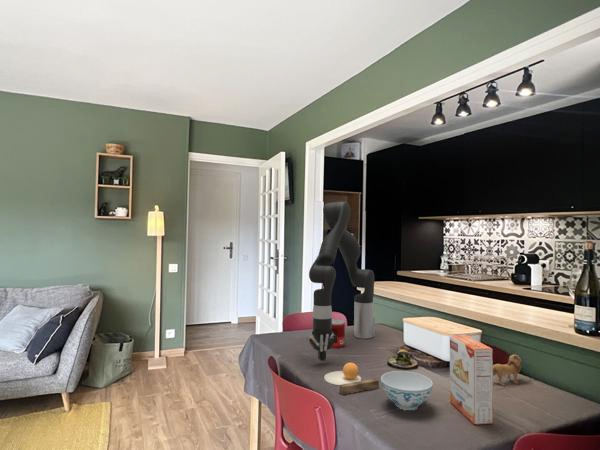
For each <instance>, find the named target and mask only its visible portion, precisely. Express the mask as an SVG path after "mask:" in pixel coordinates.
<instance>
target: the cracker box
mask: <svg viewBox="0 0 600 450" xmlns="http://www.w3.org/2000/svg"><path fill="white" fill-rule="evenodd" d="M493 354H494V351H493V348H492V347H490V346H487V345H486V344H484V343H482V342H481V341H478V340H476V339H475V338H473V337H471V336H470V335H467V334H452V335H449V402H450V403H451V404H452V405H453V406H454V407H455V408H456V409H457V410H458V412H461V414H462V415H463V416H464V417H466V418H467V420H469V421H470V423H472V424H473V425H474V424H476V425H493V424H494V384H493V383H494V376H493V365H494V364H493V363H494V360H493V359H494V358H493V357H494V355H493Z"/></svg>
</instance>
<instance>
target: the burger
mask: <svg viewBox="0 0 600 450" xmlns="http://www.w3.org/2000/svg"><path fill="white" fill-rule="evenodd" d="M396 353H397V354H396V355H395V354H393V355H391V357H388V358H387V362H386V364H387V365H392V366H393V367H396V368H397V367H398V368H404V369H406V368H408V369H409V368H413V367H416V368H419V361H418V360H417V359H416V358H415V359H414V358H413V357H411V356H409V351H408V350H406V349H404V348H401V349H399V350H398V351H397V352H396Z"/></svg>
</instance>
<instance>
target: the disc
mask: <svg viewBox="0 0 600 450" xmlns="http://www.w3.org/2000/svg"><path fill="white" fill-rule="evenodd" d="M324 381H326V382H327V383H328V384H332V385H335V386H339V385H342V384H347V383H353V382H358V381H362V377H361V375H359V374H358V376H357V377H356V378H355V379H348V378H346V377H345V376H344V374H343V370H336V371H330V372H327V373H326V374H325V375H324Z"/></svg>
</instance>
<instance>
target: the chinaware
mask: <svg viewBox="0 0 600 450" xmlns="http://www.w3.org/2000/svg"><path fill="white" fill-rule="evenodd" d="M380 381H381V386H382V389H383V391H384V393H385V395H386V396H387V398H388V399H389V400H390V401H391V402H392V403H394V406H395V405H396V406H397V407H399V408H401V409H405V410H404V411H406V410H413V411H415V410H414V409H416V410H417V409H419V406H422V405H423V404H424V403H425V402H426V401H427V400H428V398H429V397H430V395H431V392H432V390H433V381H432V380H431V378H430V377H428V376H426V375H423V374H420V373H418V372H413V371H405V370H404V371H403V370H395V371H389V372H385V373H383V374H382V375H381V377H380ZM396 406H395V407H396ZM397 407H396V408H397ZM399 408H398V409H399ZM401 409H400V410H401Z"/></svg>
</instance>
